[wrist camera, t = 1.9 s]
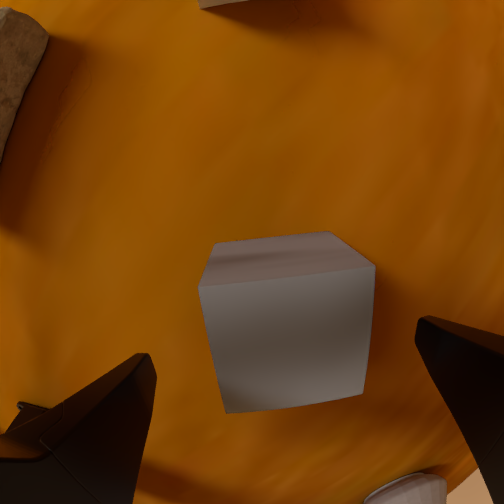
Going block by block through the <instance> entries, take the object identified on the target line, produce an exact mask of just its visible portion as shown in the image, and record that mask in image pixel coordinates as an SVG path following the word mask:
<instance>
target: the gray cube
mask: <svg viewBox="0 0 504 504" xmlns="http://www.w3.org/2000/svg"><path fill="white" fill-rule="evenodd" d="M374 287H375V265H374V264H372V263H371V262H370V261H368V260H367V259H366V258H365V257H363V256H362V255H361V254H359V253H358V252H357V251H355V250H354V249H353V248H351V247H350V246H348V245H347V244H346V243H344V242H343V241H342V240H340V239H339V238H338V237H336V236H335V235H333V234H332V233H331V232H329V231H324V232H315V233H305V234H296V235H287V236H277V237H268V238H259V239H250V240H241V241H233V242H224V243H215V245H214V247H213V250H212V252H211V255H210V257H209V260H208V262H207V265H206V267H205V270H204V273H203V275H202V278H201V280H200V283H199V285H198V290H199V296H200V301H201V306H202V311H203V316H204V321H205V326H206V331H207V335H208V340H209V345H210V349H211V354H212V358H213V362H214V367H215V371H216V375H217V380H218V384H219V388H220V392H221V396H222V400H223V404H224V408H225V412H226V413H242V412H254V411H265V410H274V409H282V408H290V407H297V406H303V405H309V404H315V403H321V402H326V401H332V400H337V399H341V398H346V397H350V396H355V395H359V394H363V389H364V383H365V376H366V370H367V362H368V355H369V347H370V338H371V328H372V317H373V304H374Z"/></svg>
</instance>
